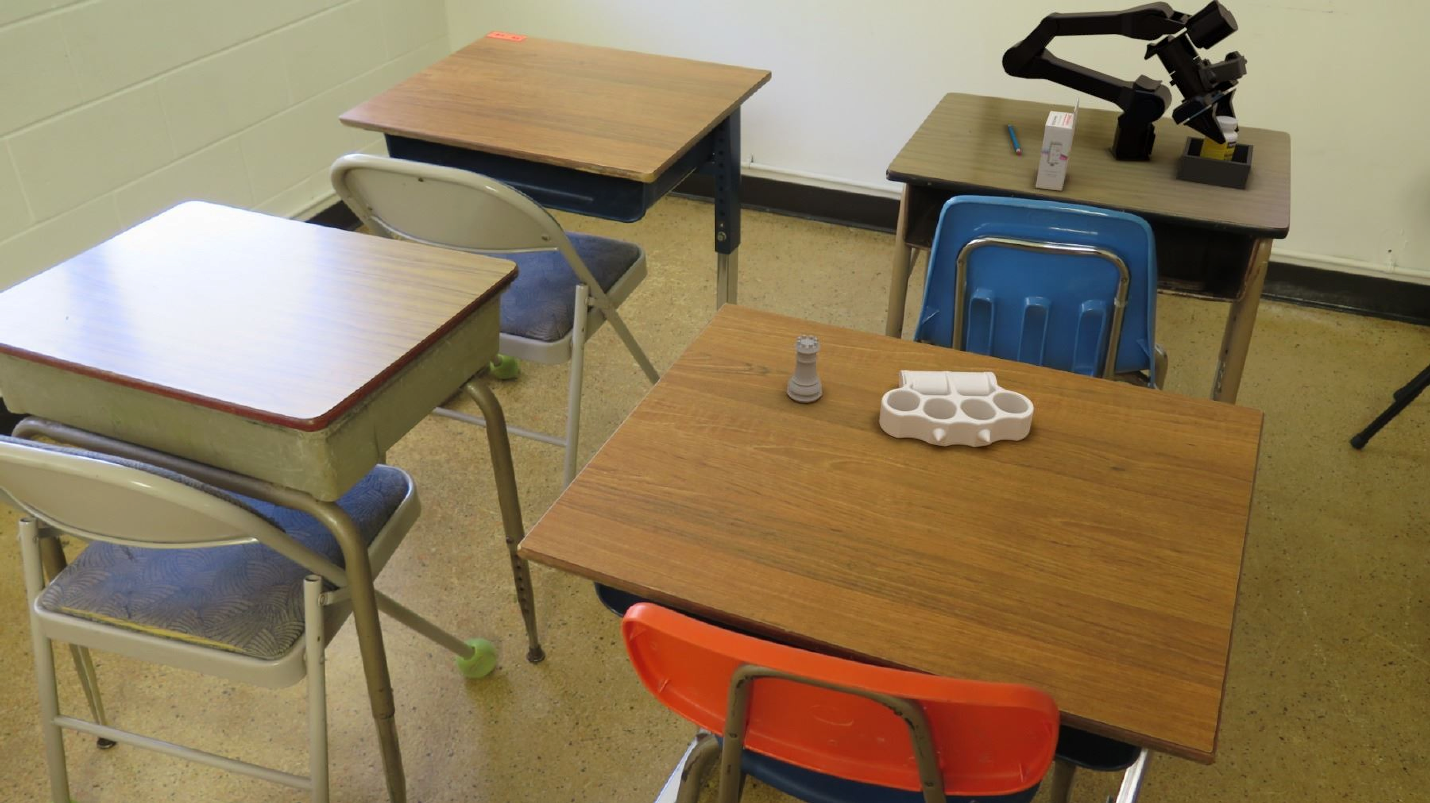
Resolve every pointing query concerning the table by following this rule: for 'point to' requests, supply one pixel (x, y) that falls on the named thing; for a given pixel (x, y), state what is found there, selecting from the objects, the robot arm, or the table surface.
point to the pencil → (1014, 140)
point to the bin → (1215, 165)
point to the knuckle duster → (954, 409)
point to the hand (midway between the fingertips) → (1230, 137)
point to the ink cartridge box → (1056, 149)
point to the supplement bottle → (1224, 150)
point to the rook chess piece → (805, 372)
